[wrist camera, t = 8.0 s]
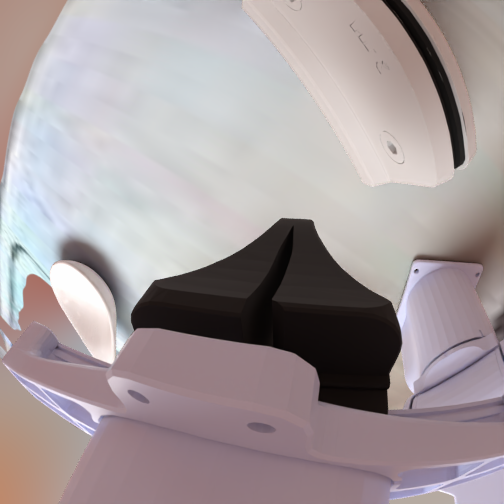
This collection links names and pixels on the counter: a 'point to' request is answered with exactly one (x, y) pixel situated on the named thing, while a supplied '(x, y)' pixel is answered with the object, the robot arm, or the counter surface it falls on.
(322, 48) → the white curved piece
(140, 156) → the counter surface
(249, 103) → the counter surface
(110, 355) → the spoon rest
